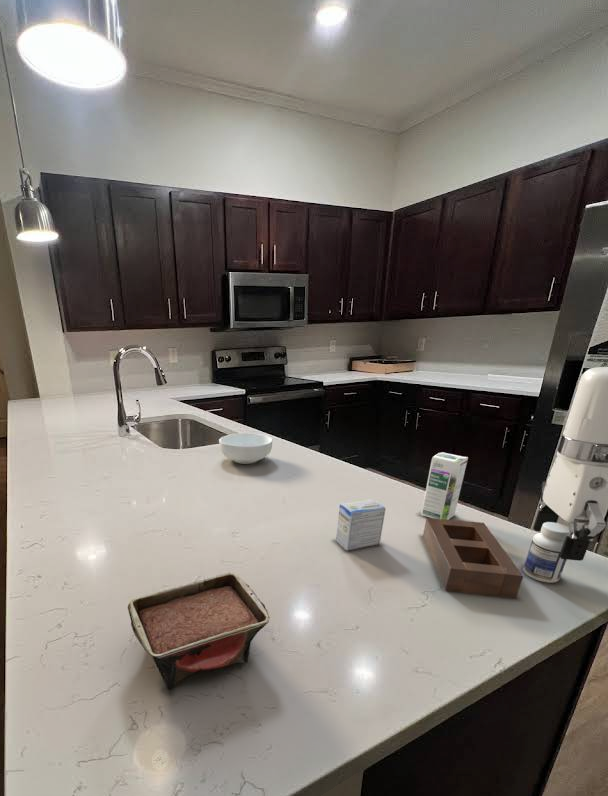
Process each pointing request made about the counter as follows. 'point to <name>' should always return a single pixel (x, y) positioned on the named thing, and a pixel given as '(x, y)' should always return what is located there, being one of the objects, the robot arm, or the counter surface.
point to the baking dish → (198, 625)
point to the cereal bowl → (245, 447)
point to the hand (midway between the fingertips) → (555, 544)
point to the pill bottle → (547, 553)
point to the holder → (470, 558)
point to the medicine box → (360, 524)
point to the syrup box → (443, 486)
